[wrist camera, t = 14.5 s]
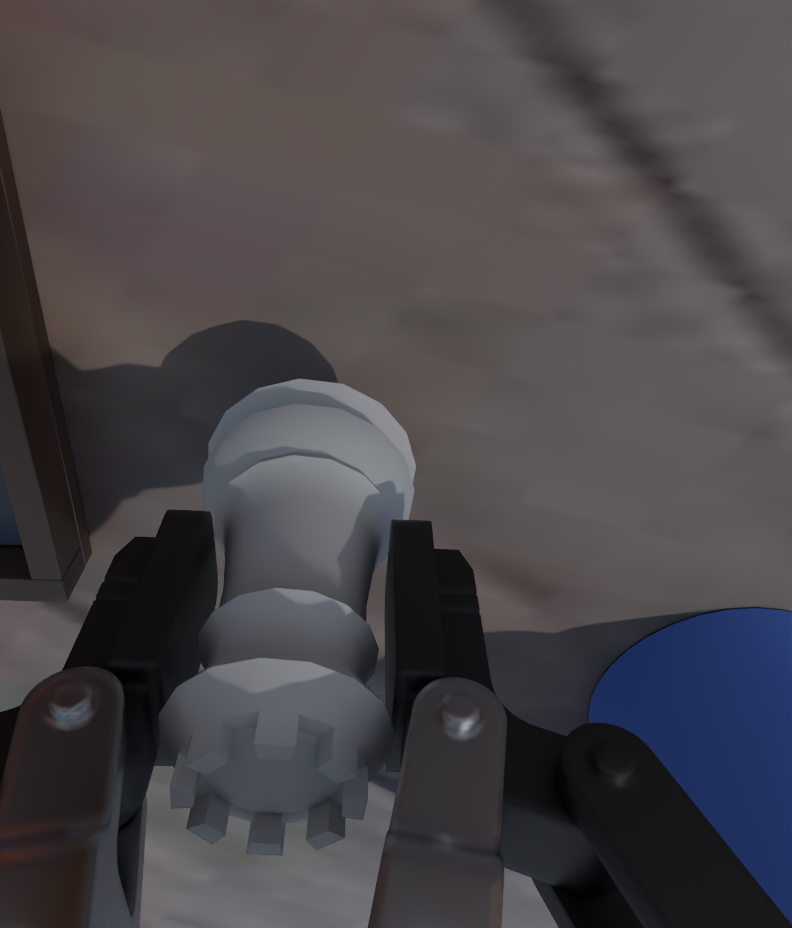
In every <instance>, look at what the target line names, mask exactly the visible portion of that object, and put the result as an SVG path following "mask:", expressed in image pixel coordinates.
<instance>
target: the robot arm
mask: <svg viewBox="0 0 792 928" xmlns="http://www.w3.org/2000/svg"><path fill="white" fill-rule="evenodd" d="M217 587H218V574H217V563H216V552H215V541H214V530H213V520H212V515H211V512H210V511H192V510H167V512H166V513H165V515H164V518H163V520H162V523H161V525H160V528H159V530H158V533H157V535H156V537H135V538H134V539H132V540H131V541H130V542H129V543H128V544H127V545H126V546H125V547H124V548H123V549H121V550H120V551H119V552H118V553H117V554H116V555H115V556H114V558H113V560H112V563H111V565H110V567H109V569H108V571H107V574H106V576H105V581H104V582H102V585H101V587H100V589H99V591H98V593H97V595H96V601H94V602H93V604H92V606H91V609H90V611H89V613H88V615H87V617H86V619H85V622H84V624H83V626H82V628H81V630H80V633H79V635H78V637H77V639H76V641H75V644H74V646H73V648H72V650H71V652H70V654H69V657H68V659H67V661H66V663H65V665H64V667H63V669H62V671H60V672H58V673H55V674H53V675H51V676H49V677H48V678H46V679H44V680H43V681H42V682H40V683H39V684H37V685H36V686H35V687H34V688H33V689H32V690H31V691H30V692H29V694H28V695H27V696H26V697H25V699H24V701H23V703H22V704H21V705H20V706H18V707H15V708H13V709H10V710H6V711H3V712H0V928H140V910H141V894H142V879H143V863H144V848H145V832H146V816H147V799H146V792H147V788H148V785H149V781H150V778H151V774H152V771H153V767H154V766H173V765H172V763H171V761H170V760H169V758H168V756H167V755H166V753H165V751H164V749H163V748H162V746H161V744H160V731H159V713H160V712H161V710H162V709H163V707H164V706H165V704H166V703H167V701H168V700H169V698H170V696H171V695H172V693H173V692H174V690H175V689H176V687H178V686H179V685H181V684H182V683H184V682H185V681H187V680H189V679H190V678H192V677H193V676H195V675H196V674H198V671H199V667H200V663H201V662H200V660H199V659H198V634H199V632H200V631H201V629H202V627H203V626H204V624H205V623H206V621H207V620H208V618H209V617H210V615H211V613H212V612H213V611H214V609H215V605H216V598H217ZM476 593H477V591H476V585H475V579H474V572H473V569H472V568H471V566H470V565H469V564H468V562H467V561H466V559H465V558H464V557H463V555H462V554H461V553H460V551H459V550H449V549H434V543H433V533H432V524H431V521H420V520H397V519H392V520H391V527H390V539H389V551H388V563H387V575H386V589H385V691H386V709H387V712H388V714H389V717H390V719H391V722H392V724H393V727H394V729H395V736H394V740H393V745H392V749H391V753H390V757H389V760H388V761H387V762H386V771H391V772H400V776H399V781H398V786H397V791H396V796H395V802H394V807H393V812H392V817H391V822H390V827H389V831H388V832H387V835H386V839H385V843H384V848H383V853H382V858H381V863H380V868H379V873H378V878H377V884H376V889H375V894H374V899H373V904H372V909H371V914H370V919H369V924H368V928H501V925H502V906H503V887H504V867H505V868H507V869H510V870H513V871H516V872H518V873H521V874H524V875H526V876H529V877H531V878H532V880H533V882H534V884H535V886H536V888H537V890H538V891H539V893H540V895H541V897H542V899H543V900H544V902H545V904H546V906H547V908H548V909H549V911H550V913H551V915H552V916H553V918H554V920H555V922H556V924H557V925H558V927H559V928H792V924H791V923H790V922H789V921H788V919H787V918H786V917H785V916H784V914H783V913H782V912H781V911H780V909H779V908H778V907H777V906H776V904H775V903H774V902H773V901H772V900H771V898H770V897H769V896H768V895H767V893H766V892H765V891H764V890H763V888H762V887H761V886H760V885H759V883H758V882H757V881H756V880H755V878H754V877H753V876H752V875H751V873H750V872H749V871H748V870H747V868H746V867H745V866H744V865H743V863H742V862H741V861H740V860H739V858H738V857H737V856H736V855H735V853H734V852H733V851H732V850H731V848H730V847H729V846H728V845H727V843H726V842H725V841H724V840H723V838H722V837H721V836H720V835H719V833H718V832H717V831H716V830H715V828H714V827H713V826H712V825H711V823H710V822H709V821H708V820H707V818H706V817H705V816H704V815H703V813H702V812H701V811H700V810H699V808H698V807H697V806H696V805H695V803H694V802H693V801H692V800H691V798H690V797H689V796H688V795H687V793H686V792H685V791H684V790H683V788H682V787H681V786H680V785H679V783H678V782H677V781H676V780H675V779H674V777H673V776H672V775H671V774H670V772H669V771H668V770H667V769H666V767H665V766H664V765H663V764H662V762H661V761H660V760H659V759H658V757H657V756H656V755H655V754H654V752H653V751H652V750H651V749H650V748H649V746H648V745H647V744H646V743H645V742H644V741H642V740H641V739H640V738H639V737H638V736H636V735H635V734H633V733H632V732H630V731H628V730H626V729H624V728H622V727H619V726H616V725H613V724H608V723H598V722H597V723H588V724H585V725H582V726H580V727H577V728H576V729H574V730H573V731H572V732H571V733H570V734H569V735H568V736H564V735H561V734H557V733H554V732H551V731H548V730H545V729H542V728H539V727H536V726H533V725H531V724H528V723H526V722H524V721H523V720H521V719H519V718H518V717H516V716H515V715H513V714H512V713H511V712H510V711H509V710H508V709H506V708H505V706H504V705H503V704H502V703H501V702H500V700H499V699H498V697H497V696H496V694H495V692H494V689H493V687H492V683H491V678H490V672H489V666H488V659H487V653H486V647H485V641H484V635H483V628H482V622H481V616H480V615H479V604H478V597H477V596H476Z"/></svg>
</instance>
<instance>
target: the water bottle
mask: <svg viewBox="0 0 792 928" xmlns="http://www.w3.org/2000/svg"><path fill="white" fill-rule="evenodd" d="M588 718H589V723H597V722H598V723H608V724H613V725H616V726H619V727H622V728H624V729H626V730H628V731H630V732H632V733H633V734H635V735H636V736H638V737H639V738H640V739H641V740H642V741H644V742H645V743H646V744H647V745H648V746H649V748H650V749H651V750H652V751H653V752H654V754H655V755H656V756H657V757H658V759H659V760H660V761H661V762H662V764H663V765H664V766H665V767H666V769H667V770H668V771H669V772H670V774H671V775H672V776H673V777H674V779H675V780H676V781H677V782H678V783H679V785H680V786H681V787H682V788H683V790H684V791H685V792H686V793H687V795H688V796H689V797H690V798H691V800H692V801H693V802H694V803H695V805H696V806H697V807H698V808H699V810H700V811H701V812H702V813H703V815H704V816H705V817H706V818H707V820H708V821H709V822H710V823H711V825H712V826H713V827H714V828H715V830H716V831H717V832H718V833H719V835H720V836H721V837H722V838H723V840H724V841H725V842H726V843H727V845H728V846H729V847H730V848H731V850H732V851H733V852H734V853H735V855H736V856H737V857H738V858H739V860H740V861H741V862H742V863H743V865H744V866H745V867H746V868H747V870H748V871H749V872H750V873H751V875H752V876H753V877H754V878H755V880H756V881H757V882H758V883H759V885H760V886H761V887H762V888H763V890H764V891H765V892H766V893H767V895H768V896H769V897H770V898H771V900H772V901H773V902H774V903H775V904H776V906H777V907H778V908H779V909H780V911H781V912H782V913H783V914H784V916H785V917H786V918H787V919H788V921H789V922H790V923H791V924H792V613H791V612H787V611H783V610H773V609H762V608H749V609H731V610H724V611H719V612H714V613H709V614H704V615H699V616H696V617H693V618H690V619H687V620H684V621H681V622H678V623H675V624H673V625H671V626H669V627H666V628H664V629H662V630H660V631H658V632H656V633H654V634H652V635H650V636H648V637H647V638H645V639H644V640H642V641H641V642H639V643H638V644H636V645H635V646H633V647H632V648H630V649H629V650H627V651H626V652H625V653H624V654H623V655H622V656H621V657H620V658H619V659H618V660H616V661H615V662H614V663H613V664H612V665H611V666H610V667H609V669H608V670H607V671H606V673H605V674H604V675H603V677H602V678H601V679H600V681H599V682H598V684H597V686H596V688H595V691H594V693H593V695H592V698H591V700H590V707H589V714H588Z"/></svg>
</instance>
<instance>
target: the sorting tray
mask: <svg viewBox="0 0 792 928" xmlns="http://www.w3.org/2000/svg"><path fill="white" fill-rule="evenodd" d="M91 554H92V550H91V546H90V541H89V536H88V531H87V526H86V521H85V517H84V512H83V507H82V502H81V497H80V493H79V488H78V483H77V478H76V473H75V468H74V464H73V459H72V454H71V449H70V444H69V439H68V435H67V430H66V425H65V420H64V415H63V410H62V406H61V401H60V396H59V391H58V386H57V382H56V377H55V372H54V367H53V362H52V357H51V353H50V348H49V343H48V338H47V333H46V328H45V324H44V319H43V314H42V309H41V304H40V299H39V295H38V290H37V285H36V280H35V275H34V270H33V266H32V261H31V256H30V251H29V246H28V242H27V237H26V232H25V227H24V222H23V217H22V213H21V208H20V203H19V198H18V193H17V188H16V184H15V179H14V174H13V169H12V164H11V159H10V155H9V150H8V145H7V140H6V135H5V131H4V126H3V121H2V116H1V111H0V600H13V601H41V602H67V601H68V599H69V597H70V595H71V593H72V591H73V589H74V587H75V586H76V584H77V582H78V580H79V578H80V576H81V574H82V572H83V570H84V568H85V565H86V563H87V561H88V560H89V558H90V556H91Z"/></svg>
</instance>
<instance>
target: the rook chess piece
mask: <svg viewBox="0 0 792 928" xmlns="http://www.w3.org/2000/svg"><path fill="white" fill-rule="evenodd" d="M415 469H416V465H415V461H414V457H413V454H412V450H411V447H410V443H409V440H408V436H407V433H406V432H405V430H404V429H403V428H402V427H401V426H400V425H399V423H398V422H397V421H396V420H395V419H394V418H393V416H392V415H391V414H390V413H389V412H388V411H387V409H386V408H385V407H384V406H383V405H382V404H381V403H379V402H377V401H376V400H374V399H372V398H370V397H368V396H366V395H364V394H362V393H360V392H358V391H356V390H354V389H352V388H350V387H348V386H346V385H345V384H339V383H331V382H323V381H315V380H307V379H295V380H291V381H287V382H283V383H278V384H274V385H270V386H266V387H261V388H257V389H256V390H255V391H253V392H252V393H251V394H249V395H248V396H246V397H245V398H244V399H242V400H241V401H239V402H238V403H237V404H235V405H234V406H232V407H231V408H230V409H228V410H227V411H226V412H225V413H224V415H223V417H222V419H221V421H220V423H219V424H218V426H217V428H216V430H215V432H214V434H213V436H212V437H211V439H210V441H209V443H208V460H207V462H206V464H205V466H204V470H203V503H204V510H205V511H210V512H211V515H212V520H213V530H214V532H215V533H214V535H215V537H216V539H217V541H218V543H219V545H220V547H221V549H222V551H223V553H224V555H225V571H224V588H223V594H222V598H221V602H220V606H219V608H218V609H216V610H214V611H213V612H212V613H211V615H210V617H209V618H208V620H207V621H206V623H205V624H204V626H203V627H202V629H201V631H200V632H199V634H198V659H199V660H200V662H201V664H202V666H203V667H204V670H203V671H201V672H200V673H198V674H196V675H195V676H193V677H192V678H190V679H189V680H187V681H185V682H184V683H182V684H181V685H179V686H178V687H176V689H175V690H174V692H173V693H172V695H171V696H170V698H169V700H168V701H167V703H166V704H165V706H164V707H163V709H162V710H161V712H160V713H159V731H160V744H161V746H162V748H163V749H164V751H165V753H166V755H167V756H168V758H169V760H170V761H171V763H172V765H173V766H174V768H175V769H174V773H173V777H172V781H171V785H170V797H171V809H174V808H191V810H190V814H189V819H188V823H187V828H186V829H187V830H189V831H191V832H192V833H194V834H196V835H197V836H199V837H201V838H203V839H204V840H206V841H208V842H209V843H211V844H214V843H215V842H217V841H218V840H220V839H221V838H222V837H224V836H225V833H226V828H227V822H228V816H229V815H231V816H234V817H238V818H241V819H245V820H248V821H251V825H250V831H249V838H248V845H247V852H246V854H261V855H279V856H282V854H283V844H284V835H285V826H286V823H291V822H297V821H304V820H308V824H307V837H306V840H307V841H308V842H309V843H310V844H311V845H312V846H313V847H314V848H315V849H316V850H318V849H321V848H323V847H325V846H328V845H330V844H332V843H335V842H337V841H339V840H341V839H344V838H345V817H346V818H352V819H358V820H363V817H364V813H365V808H366V804H367V800H368V782H369V781H370V780H371V779H372V778H373V777H374V776H375V774H376V773H377V772H378V771H379V770H380V769H381V768H382V767H383V766H384V764H385V763H386V762H387V761H388V760H389V757H390V753H391V749H392V745H393V740H394V736H395V729H394V727H393V724H392V722H391V719H390V717H389V714H388V712H387V709H386V707H385V704H384V703H383V702H382V701H381V700H380V699H379V698H378V697H377V696H376V695H375V694H374V693H373V692H372V691H371V690H370V689H369V688H368V687H367V686H366V685H365V683H366V682H367V681H368V679H369V678H370V677H371V676H372V675H373V674H374V671H375V666H376V661H377V656H378V651H379V649H378V646H377V643H376V641H375V638H374V635H373V633H372V630H371V628H370V625H369V624H368V623H366V605H367V600H368V595H369V590H370V585H371V580H372V575H373V573H374V572H375V570H376V569H377V568H378V566H379V565H380V564H381V563H382V561H383V560H384V559H385V557H386V556H387V555H388V551H389V539H390V527H391V520H392V519H397V520H409V515H410V510H411V506H412V501H413V496H414V491H415V490H414V487H413V479H414V474H415Z"/></svg>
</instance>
